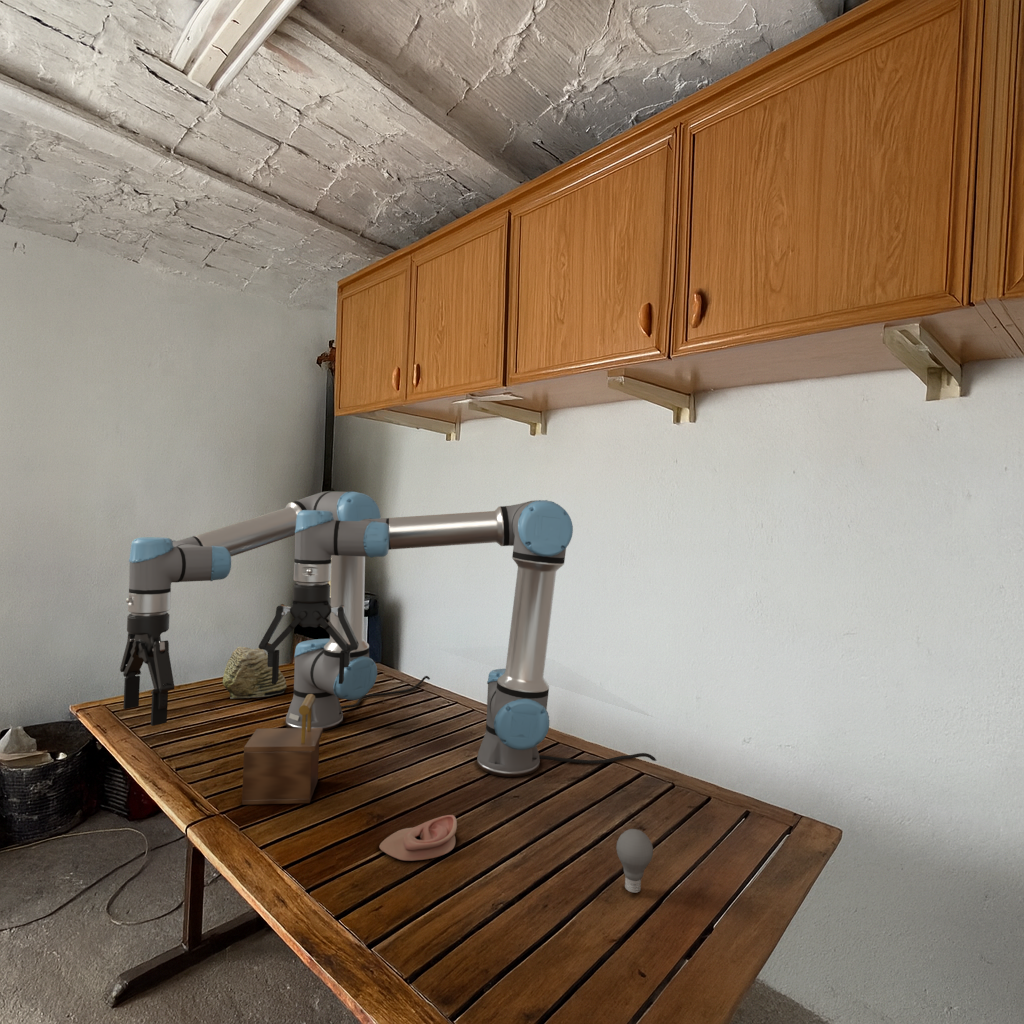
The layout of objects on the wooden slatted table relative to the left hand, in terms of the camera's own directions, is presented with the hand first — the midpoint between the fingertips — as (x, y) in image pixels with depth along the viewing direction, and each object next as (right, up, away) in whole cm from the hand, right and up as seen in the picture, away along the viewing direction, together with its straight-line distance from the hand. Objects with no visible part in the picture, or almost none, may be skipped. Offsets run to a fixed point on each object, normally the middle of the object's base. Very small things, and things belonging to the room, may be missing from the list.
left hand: (144, 715), depth 130 cm
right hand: (+32, +6, +5) cm, 33 cm away
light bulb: (+96, -22, -25) cm, 101 cm away
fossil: (-5, -15, +68) cm, 70 cm away
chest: (+27, -18, +5) cm, 32 cm away
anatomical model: (+58, -20, -14) cm, 63 cm away
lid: (+27, -7, +5) cm, 29 cm away
